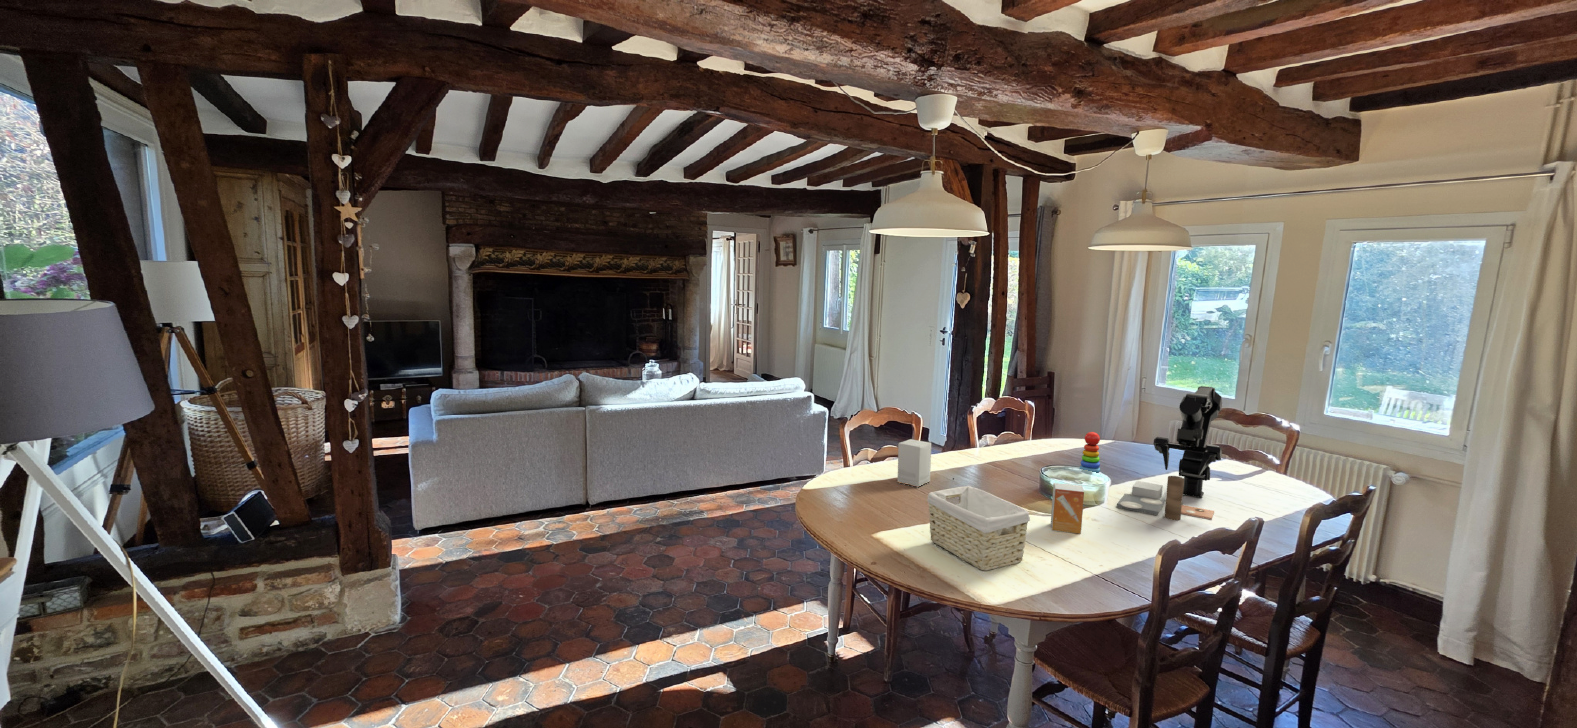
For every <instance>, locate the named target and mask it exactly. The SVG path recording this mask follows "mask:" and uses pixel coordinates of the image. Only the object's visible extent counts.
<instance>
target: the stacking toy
mask: <svg viewBox="0 0 1577 728" xmlns="http://www.w3.org/2000/svg"><path fill="white" fill-rule="evenodd" d="M1100 440H1101V437H1100V435H1099V434H1098V433H1097V432H1095V431H1090V432H1089V431H1088V432H1087V433H1086V434H1085V435H1084V441H1085V444H1084V446H1083V448H1084V450H1082V454H1083V455H1081V459H1082V460H1081V461H1080V466H1079V470H1080V469H1083V470H1088V471H1092V472H1096V473H1100V472H1101V468H1100V466H1101V463H1100V456H1099V455H1100V452H1099V450H1100V446H1099V443H1100Z"/></svg>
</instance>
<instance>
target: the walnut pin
mask: <svg viewBox="0 0 1577 728" xmlns="http://www.w3.org/2000/svg"><path fill="white" fill-rule="evenodd" d="M1183 487H1184V477H1183V476H1179V475H1178V476H1177V475H1169V476H1167V483H1166V492H1165V493H1166V494H1165V503H1164V505H1165V506H1164V507H1165V508H1164V515H1163V517H1164V518H1165V519H1168V520H1169V521H1181V517H1182V514H1181V508H1182V505H1183V496H1184V495H1183Z"/></svg>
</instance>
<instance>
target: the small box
mask: <svg viewBox="0 0 1577 728" xmlns="http://www.w3.org/2000/svg"><path fill="white" fill-rule="evenodd" d="M1084 499H1085V491H1084V488H1083V485H1077V484H1070V483H1059V482H1058V483H1057V482H1053V488H1052V501H1051V516H1050V526H1051V530H1052V531H1054V532H1055V531H1056V532H1065V533H1072V534H1079V535H1080V534H1082V527H1083V526H1082V525H1083V513H1084V512H1083V510H1084V501H1085V500H1084Z"/></svg>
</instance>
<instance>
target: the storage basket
mask: <svg viewBox="0 0 1577 728" xmlns="http://www.w3.org/2000/svg"><path fill="white" fill-rule="evenodd" d="M954 498H958V501H959V502H958V503H956V504H954V503H952V502H950V501H948V500H949V499H954ZM926 501H927V503H928V512H929V532H930V540H931V541H932V543H934V544H936V545H937V546H939V547H941V548H943V549H945V550H947V552H950V553H951V554H953V555H955V556H957V557H958V558H959V559H960V560H962V561H964V562H967V563H968V564H970V565H972V566H973V567H975V568H977V569H979V570H981V571H984V572H985V571H986V572H987V571H991V570H995V569H999V568H1003V567H1004V568H1005V567H1008V566H1011V565H1017V564H1019V563H1020V562H1023V557H1024V552H1025V550H1024V549H1025V546H1026V540H1027V529H1028V524H1029V523H1028V522H1030V521H1031V516H1030V512H1029V511H1028V510H1026V509H1025V508H1022V507H1021V506H1020V505H1019V506H1018V505H1017V504H1015V503H1013V502H1010V501H1008V500H1005V499H1002V498H1001V497H998V496H996V495H994V494H992V493H990V492H987V491H985V490H983V489H980V488H977V487H974V486H971V485H965V486H958V487H952V488H947V489H940V490H936V491H931V492H929V493H928V495H927V500H926Z"/></svg>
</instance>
